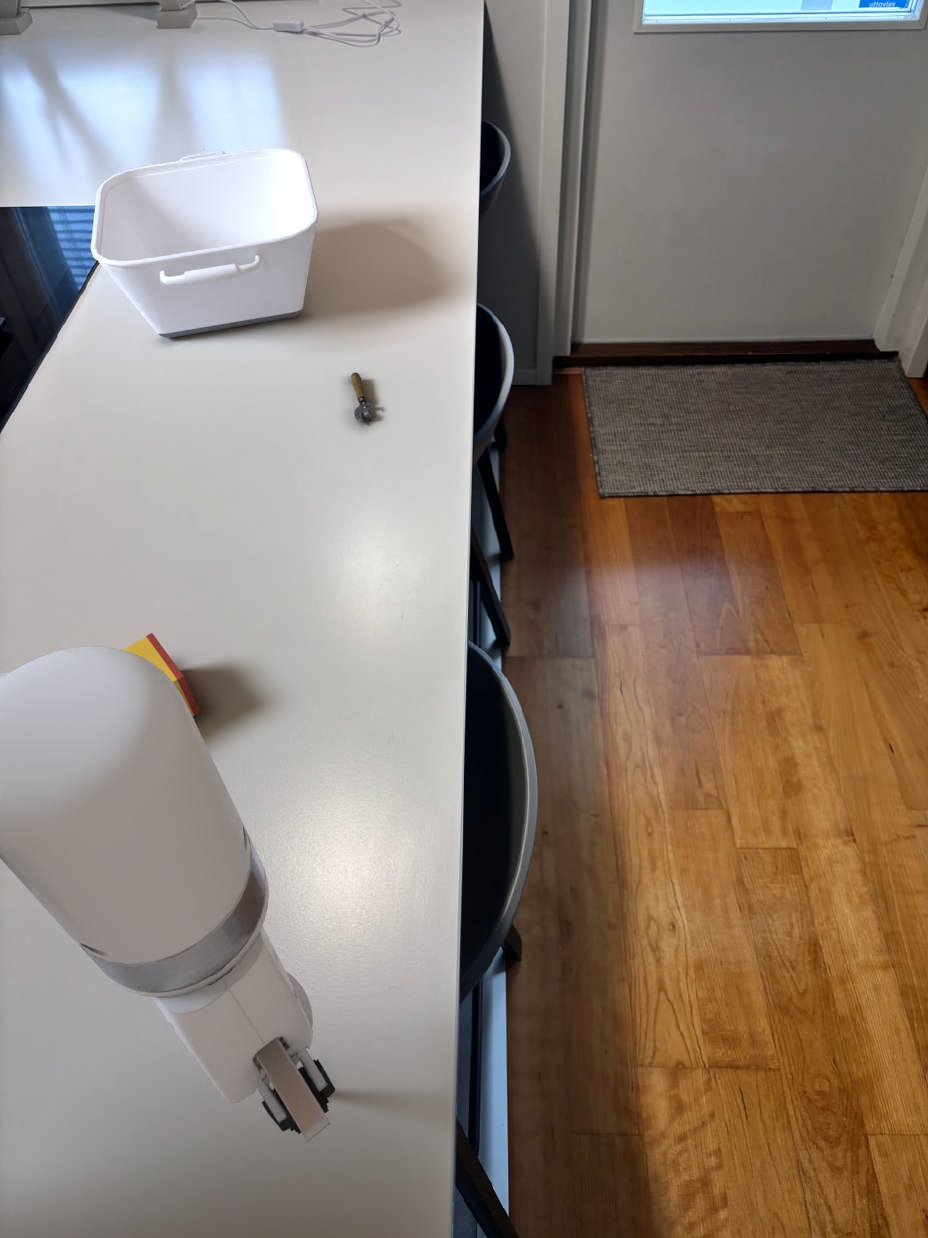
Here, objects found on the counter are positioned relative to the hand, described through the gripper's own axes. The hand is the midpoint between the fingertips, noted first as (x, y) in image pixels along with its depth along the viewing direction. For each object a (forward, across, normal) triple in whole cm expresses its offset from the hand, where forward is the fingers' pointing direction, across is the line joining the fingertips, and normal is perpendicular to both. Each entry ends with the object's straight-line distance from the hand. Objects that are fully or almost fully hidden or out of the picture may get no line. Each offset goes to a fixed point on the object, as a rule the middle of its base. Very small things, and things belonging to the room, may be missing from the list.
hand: (263, 1034), depth 52 cm
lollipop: (+11, 0, 0) cm, 11 cm away
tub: (+11, -91, +43) cm, 101 cm away
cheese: (+11, -34, +4) cm, 36 cm away
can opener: (+11, -59, +43) cm, 74 cm away
